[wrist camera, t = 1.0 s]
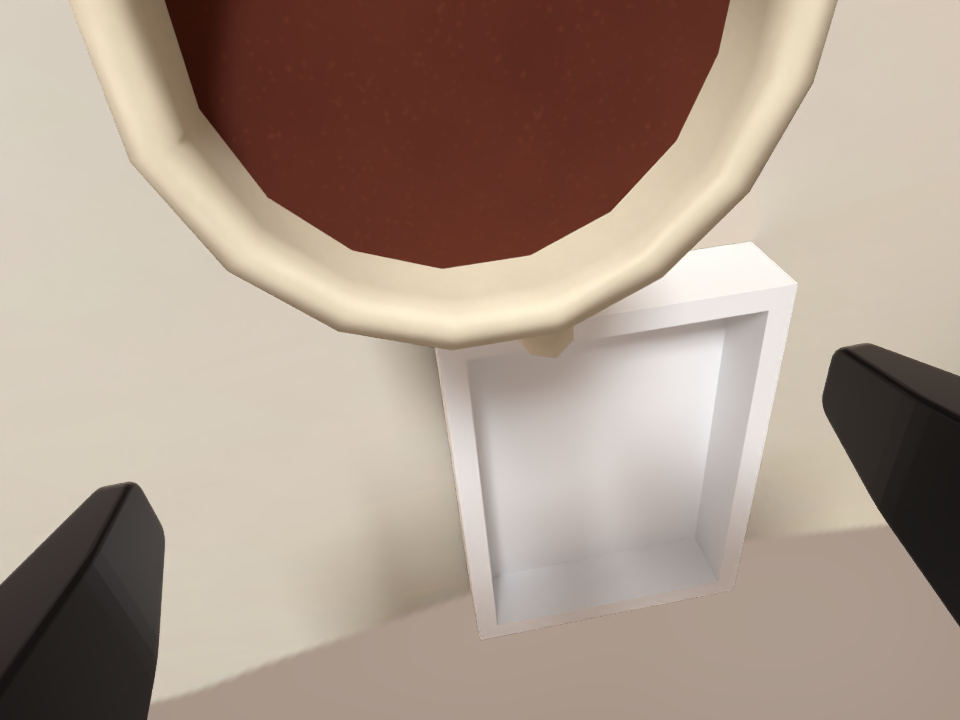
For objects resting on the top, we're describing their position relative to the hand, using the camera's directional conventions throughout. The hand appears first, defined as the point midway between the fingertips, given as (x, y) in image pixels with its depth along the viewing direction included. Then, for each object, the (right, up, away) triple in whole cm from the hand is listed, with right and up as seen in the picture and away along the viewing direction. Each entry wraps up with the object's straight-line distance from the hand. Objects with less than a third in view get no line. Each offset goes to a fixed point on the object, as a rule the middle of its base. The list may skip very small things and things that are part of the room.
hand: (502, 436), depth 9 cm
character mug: (-2, +11, +8) cm, 14 cm away
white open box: (+4, -2, +19) cm, 19 cm away
